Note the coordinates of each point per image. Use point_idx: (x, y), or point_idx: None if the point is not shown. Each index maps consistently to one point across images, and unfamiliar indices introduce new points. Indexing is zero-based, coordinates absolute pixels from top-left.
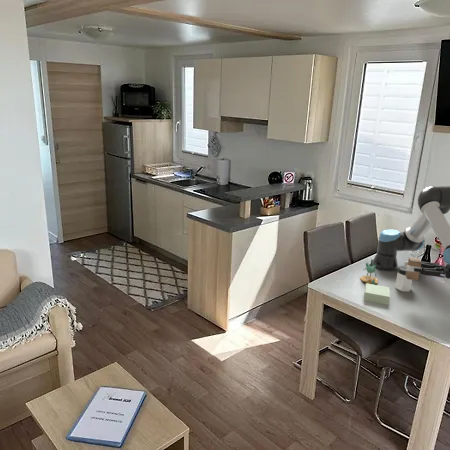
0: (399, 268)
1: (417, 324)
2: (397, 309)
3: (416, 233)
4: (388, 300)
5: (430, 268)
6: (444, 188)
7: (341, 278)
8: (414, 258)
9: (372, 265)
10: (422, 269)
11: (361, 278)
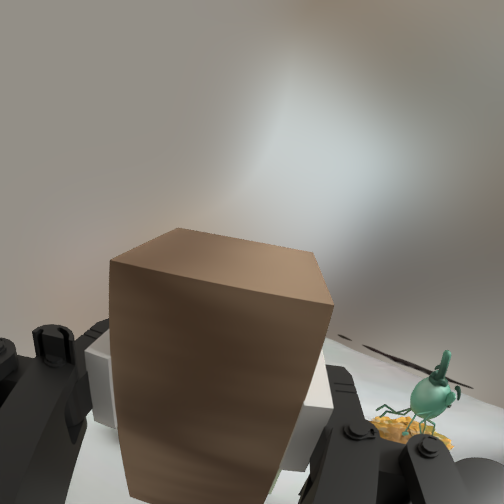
0: (459, 461)
1: None
2: (101, 469)
3: None
4: None
5: (5, 483)
6: None
7: (368, 377)
8: (299, 269)
9: (434, 381)
10: (46, 360)
11: (398, 418)
